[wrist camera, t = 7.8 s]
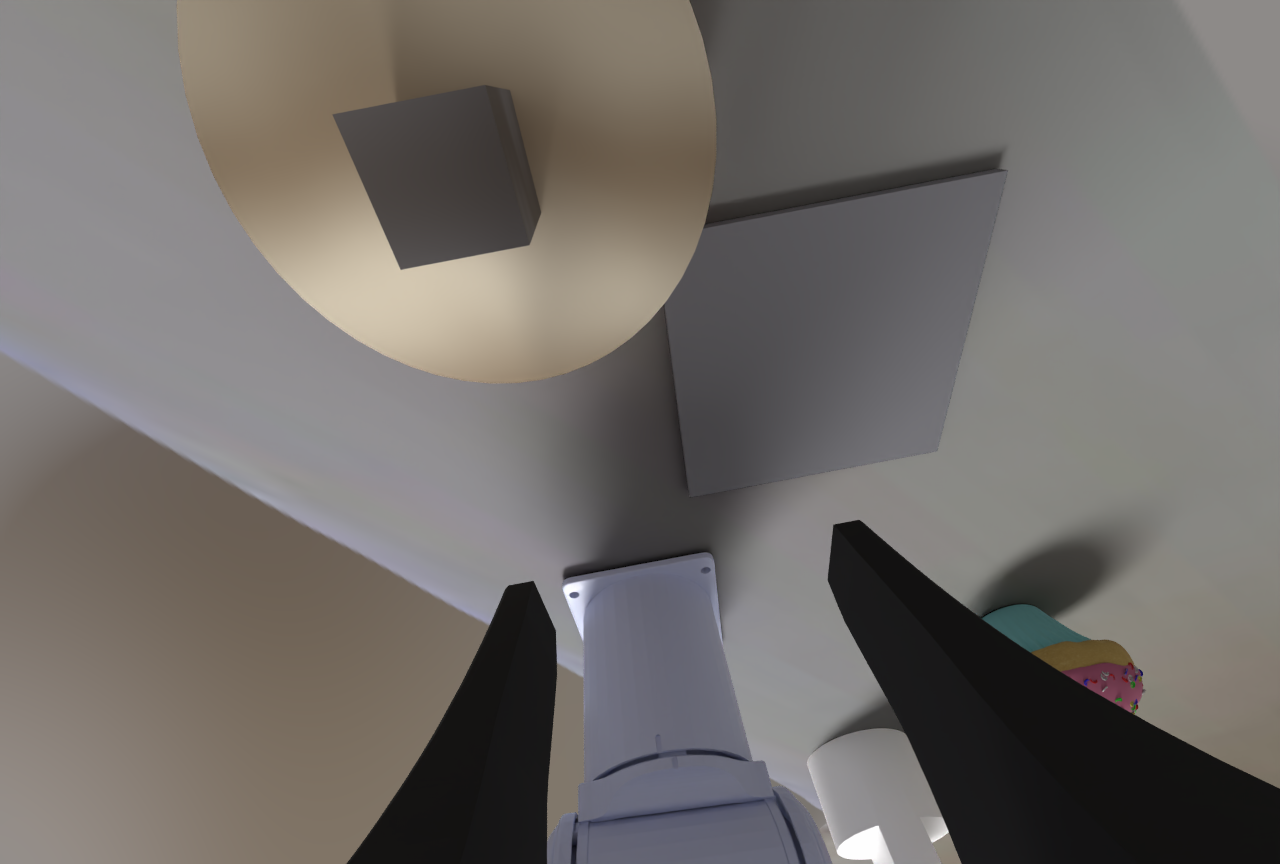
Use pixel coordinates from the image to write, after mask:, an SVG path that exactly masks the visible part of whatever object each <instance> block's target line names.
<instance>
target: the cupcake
mask: <svg viewBox="0 0 1280 864" xmlns="http://www.w3.org/2000/svg"><path fill="white" fill-rule="evenodd" d="M982 619H983V620H984V621H986V622H987V623H988V624H990V625H991V626H993V627H994V628H995V629H997V630H998V631H1000V632H1001V633H1002V634H1004V635H1005V636H1007V637H1008V638H1010V639H1011V640H1013V641H1014V642H1016V643H1017V644H1019V645H1020V646H1021V647H1023V648H1025V649H1026V650H1028V651H1029V652H1031V653H1032V654H1034V655H1035V656H1037V657H1038V658H1040V659H1041V660H1043V661H1045V662H1046V663H1048V664H1049V665H1051V666H1052V667H1054V668H1056V669H1057V670H1059V671H1060V672H1062V673H1064V674H1065V675H1067V676H1069V677H1070V678H1072V679H1073V680H1075V681H1077V682H1078V683H1080V684H1082V685H1083V686H1085V687H1087V688H1088V689H1090V690H1092V691H1094V692H1095V693H1097V694H1099V695H1101V696H1102V697H1104V698H1106V699H1108V700H1109V701H1111V702H1113V703H1115V704H1117V705H1118V706H1120V707H1122V708H1124V709H1125V710H1127V711H1129V712H1131V713H1133V714H1135V712H1136V710H1137V709H1138V705H1137V704H1138V702H1139V701H1140V699H1141V696H1142V694H1144V693H1145V691H1146V690H1145V689H1143V684H1142V677H1141V676H1143V672H1142V671H1141V670H1140V669H1138V668H1137V667H1136V666H1135V665H1134V663H1133V661H1132V659H1131V657H1130V655H1129V654H1128V653H1127V651H1126V650H1125V649H1124V648H1123V647H1122V646H1121V645H1120V644H1118V643H1116V642H1114V641H1110V640H1091V639H1089V638H1086V637H1084V636H1082V635H1080V634H1078V633H1076V632H1074V631H1072V630H1070V629H1069V628H1067V627H1065V626H1064V625H1062V624H1061V623H1059V622H1058V621H1056V620H1055V619H1053V618H1052V617H1050V616H1049V615H1047V614H1046V613H1044V612H1043V611H1041V610H1040V609H1038V608H1037V607H1035V606H1032V605H1027V604H1018V605H1012V606H1007V607H1004V608H1001V609H998V610H996V611H994V612H992V613H990V614H988V615H986V616H985V617H983V618H982ZM1140 673H1141V674H1140Z"/></svg>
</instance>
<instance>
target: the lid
mask: <svg viewBox="0 0 1280 864" xmlns="http://www.w3.org/2000/svg"><path fill="white" fill-rule="evenodd" d="M177 24H178V51H179V57H180V63H181V69H182V76H183V82H184V88H185V94H186V98H187V101H188V105H189V108H190V112H191V115H192V119H193V122H194V126H195V129H196V133H197V136H198V139H199V141H200V144H201V146H202V149H203V151H204V154H205V156H206V159H207V161H208V163H209V166H210V168H211V171H212V173H213V176H214V178H215V180H216V181H217V183H218V185H219V187H220V189H221V191H222V193H223V195H224V196H225V198H226V200H227V202H228V204H229V206H230V208H231V210H232V211H233V213H234V215H235V216H236V218H237V219H238V221H239V222H240V224H241V225H242V227H243V228H244V230H245V231H246V233H247V234H248V236H249V237H250V239H251V240H252V242H253V243H254V245H255V246H256V247H257V248H258V250H259V251H260V252H261V253H262V254H263V256H264V257H265V258H266V259H267V261H268V262H269V263H270V264H271V265H272V267H273V268H274V269H275V270H276V272H277V273H278V274H279V275H280V276H281V277H282V278H283V279H284V280H285V281H286V282H287V283H288V284H289V285H290V286H291V287H292V288H293V289H294V290H295V291H296V292H297V293H298V294H299V295H300V296H301V297H302V298H303V299H304V300H305V301H306V302H307V303H308V304H310V305H311V306H312V307H313V308H314V309H316V310H317V311H318V312H319V313H320V314H322V315H323V316H324V317H325V318H326V319H327V320H329V321H330V322H331V323H333V324H334V325H336V326H337V327H339V328H340V329H342V330H343V331H344V332H346V333H347V334H349V335H350V336H352V337H353V338H355V339H356V340H358V341H360V342H361V343H363V344H365V345H367V346H369V347H370V348H372V349H374V350H376V351H378V352H379V353H381V354H383V355H385V356H387V357H390V358H392V359H394V360H397V361H399V362H401V363H403V364H406V365H408V366H410V367H413V368H417V369H420V370H423V371H426V372H429V373H432V374H435V375H439V376H444V377H449V378H453V379H458V380H463V381H472V382H482V383H520V382H528V381H535V380H542V379H546V378H550V377H554V376H558V375H562V374H566V373H568V372H571V371H573V370H576V369H579V368H581V367H584V366H586V365H589V364H591V363H592V362H594V361H596V360H598V359H600V358H602V357H604V356H606V355H607V354H609V353H611V352H612V351H614V350H615V349H616V348H618V347H619V346H621V345H622V344H624V343H625V342H626V341H628V340H629V339H631V338H632V337H633V336H634V335H635V334H636V333H637V332H638V331H639V330H640V329H641V328H643V327H644V326H645V325H646V324H647V323H648V322H649V321H650V320H651V319H652V318H653V316H654V315H655V314H656V313H657V312H658V310H659V309H660V308H661V307H662V306H663V305H664V303H665V302H666V301H667V300H668V298H669V297H670V295H671V294H672V292H673V290H674V289H675V287H676V286H677V284H678V283H679V281H680V280H681V278H682V276H683V274H684V272H685V270H686V268H687V266H688V264H689V262H690V260H691V258H692V256H693V254H694V252H695V250H696V247H697V244H698V241H699V238H700V236H701V233H702V230H703V227H704V224H705V221H706V217H707V212H708V208H709V203H710V199H711V195H712V190H713V181H714V172H715V163H716V112H715V103H714V94H713V85H712V78H711V73H710V69H709V64H708V60H707V56H706V51H705V47H704V42H703V38H702V35H701V32H700V29H699V26H698V24H697V21H696V18H695V15H694V12H693V9H692V6H691V3H690V0H177Z"/></svg>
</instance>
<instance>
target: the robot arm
mask: <svg viewBox="0 0 1280 864" xmlns="http://www.w3.org/2000/svg"><path fill="white" fill-rule="evenodd" d="M704 567H705V568H704ZM828 582H829V584H830V587H831V589H832V592H833V594H834V597H835V599H836V602H837V604H838V607H839V609H840V611H841V614H842V616H843V618H844V621H845V623H846V625H847V627H848V628H849V630H850V632H851V634H852V636H853V638H854V639H855V641H856V643H857V645H858V647H859V649H860V650H861V652H862V654H863V656H864V658H865V660H866V661H867V663H868V665H869V667H870V669H871V670H872V672H873V674H874V676H875V678H876V679H877V681H878V683H879V685H880V687H881V688H882V690H883V692H884V694H885V696H886V697H887V699H888V701H889V703H890V705H891V706H892V708H893V710H894V712H895V714H896V716H897V718H898V719H899V721H900V723H901V725H902V727H903V729H904V731H905V733H906V735H907V737H908V739H909V742H910V744H911V746H912V748H913V751H914V753H915V755H916V757H917V760H918V762H919V764H920V766H921V769H922V771H923V773H924V775H925V778H926V780H927V782H928V784H929V787H930V789H931V791H932V794H933V796H934V798H935V801H936V803H937V805H938V808H939V810H940V812H941V815H942V817H943V819H944V822H945V824H946V827H947V829H948V831H949V834H950V836H951V838H952V841H953V843H954V846H955V848H956V851H957V853H958V856H959V858H960V861H961V863H962V864H1280V789H1279V788H1277V787H1275V786H1273V785H1271V784H1269V783H1267V782H1264V781H1262V780H1260V779H1258V778H1256V777H1254V776H1252V775H1250V774H1248V773H1246V772H1244V771H1242V770H1239V769H1237V768H1235V767H1233V766H1231V765H1229V764H1227V763H1225V762H1223V761H1221V760H1219V759H1217V758H1215V757H1213V756H1211V755H1209V754H1207V753H1205V752H1203V751H1201V750H1199V749H1197V748H1196V747H1194V746H1192V745H1190V744H1188V743H1186V742H1184V741H1182V740H1180V739H1178V738H1176V737H1174V736H1172V735H1171V734H1169V733H1167V732H1165V731H1163V730H1161V729H1159V728H1157V727H1155V726H1154V725H1152V724H1150V723H1148V722H1146V721H1145V720H1143V719H1141V718H1139V717H1138V716H1136V715H1134V714H1132V713H1131V712H1129V711H1127V710H1125V709H1124V708H1122V707H1120V706H1118V705H1117V704H1115V703H1113V702H1111V701H1109V700H1108V699H1106V698H1104V697H1102V696H1101V695H1099V694H1097V693H1095V692H1094V691H1092V690H1090V689H1088V688H1087V687H1085V686H1083V685H1082V684H1080V683H1078V682H1077V681H1075V680H1073V679H1072V678H1070V677H1069V676H1067V675H1065V674H1064V673H1062V672H1060V671H1059V670H1057V669H1056V668H1054V667H1052V666H1051V665H1049V664H1048V663H1046V662H1045V661H1043V660H1041V659H1040V658H1038V657H1037V656H1035V655H1034V654H1032V653H1031V652H1029V651H1028V650H1026V649H1025V648H1023V647H1021V646H1020V645H1019V644H1017V643H1016V642H1014V641H1013V640H1011V639H1010V638H1008V637H1007V636H1005V635H1004V634H1002V633H1001V632H1000V631H998V630H997V629H995V628H994V627H993V626H991V625H990V624H988V623H987V622H986V621H984V620H983V619H981V618H980V617H979V616H977V615H976V614H975V613H973V612H972V611H970V610H969V609H968V608H966V607H965V606H964V605H963V604H961V603H960V602H959V601H957V600H956V599H955V598H953V597H952V596H951V595H949V594H948V593H947V592H946V591H944V590H943V589H942V588H941V587H939V586H938V585H937V584H936V583H934V582H933V581H932V580H930V579H929V578H928V577H927V576H925V575H924V574H923V573H922V572H920V571H919V570H918V569H917V568H916V567H914V566H913V565H912V564H911V563H910V562H908V561H907V560H906V559H905V558H904V557H902V556H901V555H900V554H899V553H898V552H897V551H895V550H894V549H893V548H892V547H891V546H889V545H888V544H887V543H886V542H885V541H884V540H883V539H881V538H880V537H879V536H878V535H877V534H876V533H874V532H873V531H872V530H871V529H870V528H869V527H868V526H866V525H865V524H864V523H863V522H861V521H860V520H856V521H851V522H845V523H840V524H835V525H833V535H832V544H831V553H830V563H829V572H828ZM562 590H563V593H564V595H565V598H566V600H567V603H568V605H569V608H570V610H571V613H572V615H573V618H574V620H575V623H576V625H577V628H578V630H579V633H580V635H581V638H582V640H583V643H584V783H581V784H579V786H578V815H577V813H576V812H575V813H567V814H564V815H562V817H561V818H560V820H559V824H558V825H557V826H556V828H555V829H554V830H553V832H552V833H551V835H550V836H549V838H548V841H547V792H548V775H549V764H550V751H551V741H552V729H553V716H554V705H555V693H556V692H555V691H556V679H557V653H556V630H555V628H554V626H553V623H552V621H551V619H550V617H549V615H548V612H547V610H546V608H545V606H544V603H543V601H542V599H541V597H540V594H539V592H538V590H537V588H536V585H535V583H534V581H531V582H525V583H520V584H515V585H509V586H508V587H507V588H506V589H505V591H504V594H503V596H502V598H501V601H500V603H499V605H498V608H497V610H496V612H495V615H494V617H493V619H492V621H491V624H490V626H489V628H488V630H487V632H486V635H485V637H484V639H483V641H482V643H481V645H480V647H479V649H478V651H477V654H476V656H475V658H474V660H473V662H472V664H471V666H470V668H469V670H468V672H467V674H466V676H465V678H464V680H463V682H462V684H461V686H460V688H459V689H458V691H457V693H456V695H455V697H454V698H453V700H452V702H451V704H450V706H449V708H448V710H447V711H446V713H445V715H444V717H443V718H442V720H441V722H440V724H439V726H438V727H437V729H436V731H435V733H434V734H433V736H432V738H431V740H430V741H429V743H428V745H427V746H426V748H425V749H424V751H423V753H422V754H421V756H420V758H419V759H418V761H417V762H416V764H415V766H414V767H413V769H412V770H411V772H410V773H409V775H408V777H407V778H406V780H405V781H404V783H403V784H402V786H401V787H400V789H399V790H398V792H397V793H396V795H395V796H394V798H393V799H392V801H391V802H390V804H389V805H388V807H387V808H386V810H385V811H384V813H383V814H382V816H381V817H380V818H379V820H378V821H377V823H376V824H375V826H374V827H373V829H372V830H371V831H370V833H369V834H368V835H367V837H366V838H365V840H364V841H363V842H362V844H361V845H360V847H359V848H358V849H357V851H356V852H355V853H354V855H353V856H352V857H351V859H350V860H349V861H348V863H347V864H832V861H831V859H830V856H829V853H828V851H827V848H826V845H825V843H824V841H823V838H822V836H821V834H820V832H819V829H818V827H817V825H816V823H815V822H814V820H813V818H812V816H811V815H810V813H809V812H808V810H807V809H806V808H805V807H804V806H803V805H802V804H801V803H800V802H799V801H798V800H797V799H796V798H795V796H794V795H793V794H792V793H791V792H790V791H789V790H788V789H787V788H785V787H783V786H776V787H772V786H771V782H770V778H769V775H768V771H767V768H766V764H765V762H764V761H753V760H752V756H751V752H750V749H749V745H748V741H747V737H746V733H745V729H744V726H743V722H742V718H741V714H740V710H739V707H738V703H737V699H736V695H735V691H734V688H733V684H732V680H731V676H730V672H729V669H728V665H727V661H726V657H725V653H724V649H723V642H722V632H721V623H720V613H719V603H718V593H717V584H716V574H715V564H714V559H713V556H712V555H711V554H710V553H707V552H704V553H698V554H692V555H687V556H682V557H676V558H671V559H666V560H660V561H655V562H650V563H644V564H639V565H634V566H628V567H623V568H618V569H612V570H607V571H602V572H596V573H591V574H586V575H580V576H575V577H570V578H567V579H565V580H564V581H563V583H562Z"/></svg>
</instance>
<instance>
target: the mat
mask: <svg viewBox="0 0 1280 864" xmlns="http://www.w3.org/2000/svg"><path fill="white" fill-rule="evenodd" d="M1007 173H1008V170H1002V169H993V170H988V171H982V172H977V173H972V174H967V175H962V176H956V177H951V178H946V179H941V180H935V181H930V182H925V183H920V184H914V185H909V186H904V187H899V188H893V189H888V190H883V191H878V192H872V193H867V194H862V195H857V196H851V197H846V198H841V199H836V200H830V201H825V202H820V203H815V204H810V205H804V206H799V207H794V208H789V209H783V210H778V211H773V212H768V213H762V214H757V215H752V216H747V217H741V218H736V219H731V220H726V221H720V222H715V223H710V224H705V225H704V227H703V230H702V233H701V236H700V238H699V241H698V244H697V247H696V250H695V252H694V254H693V256H692V258H691V260H690V262H689V264H688V266H687V268H686V270H685V272H684V274H683V276H682V278H681V280H680V281H679V283H678V284H677V286H676V287H675V289H674V290H673V292H672V294H671V295H670V297H669V298H668V300H667V301H666V302H665V303H664V312H665V319H666V327H667V335H668V342H669V350H670V357H671V365H672V372H673V380H674V387H675V395H676V402H677V410H678V417H679V425H680V432H681V440H682V448H683V455H684V463H685V470H686V478H687V485H688V492H689V495H690V498H691V497H697V496H702V495H707V494H713V493H718V492H723V491H729V490H734V489H739V488H745V487H750V486H755V485H761V484H766V483H771V482H777V481H782V480H787V479H792V478H798V477H803V476H808V475H814V474H819V473H824V472H830V471H835V470H840V469H846V468H851V467H856V466H862V465H867V464H872V463H878V462H883V461H888V460H893V459H899V458H904V457H909V456H915V455H920V454H925V453H931V452H936V451H937V450H938V446H939V442H940V438H941V434H942V430H943V426H944V422H945V419H946V415H947V411H948V407H949V403H950V399H951V395H952V391H953V387H954V383H955V379H956V375H957V371H958V367H959V363H960V359H961V355H962V351H963V347H964V343H965V339H966V335H967V331H968V327H969V323H970V319H971V315H972V311H973V307H974V303H975V299H976V296H977V292H978V288H979V284H980V280H981V276H982V272H983V268H984V264H985V260H986V256H987V252H988V248H989V244H990V240H991V236H992V232H993V228H994V224H995V220H996V216H997V212H998V208H999V204H1000V200H1001V196H1002V192H1003V188H1004V184H1005V180H1006V176H1007Z"/></svg>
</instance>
